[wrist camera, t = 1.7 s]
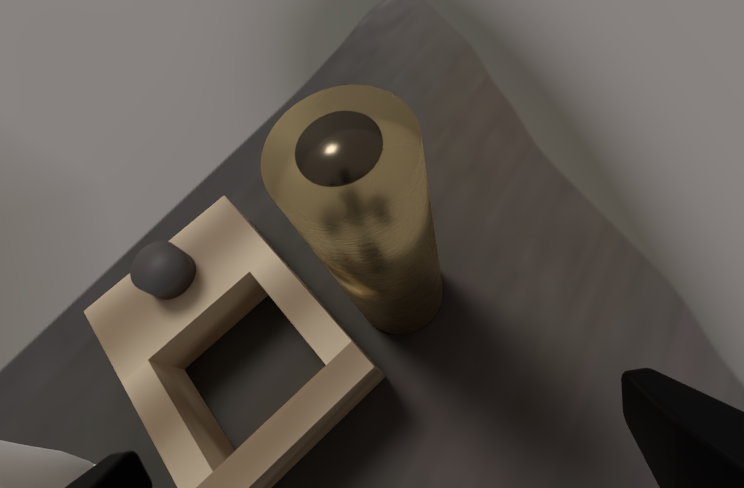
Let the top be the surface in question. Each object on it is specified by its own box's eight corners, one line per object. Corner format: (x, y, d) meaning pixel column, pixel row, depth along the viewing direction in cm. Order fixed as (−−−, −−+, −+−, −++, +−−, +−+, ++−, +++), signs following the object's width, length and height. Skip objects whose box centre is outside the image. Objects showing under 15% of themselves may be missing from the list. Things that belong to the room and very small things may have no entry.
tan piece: (461, 292, 22) (457, 137, 11) (398, 353, 21) (326, 255, 10) (401, 238, 24) (347, 59, 13) (342, 292, 23) (230, 153, 12)
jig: (385, 376, 21) (367, 360, 17) (237, 520, 20) (180, 540, 16) (248, 220, 26) (210, 181, 22) (124, 325, 25) (60, 303, 21)
